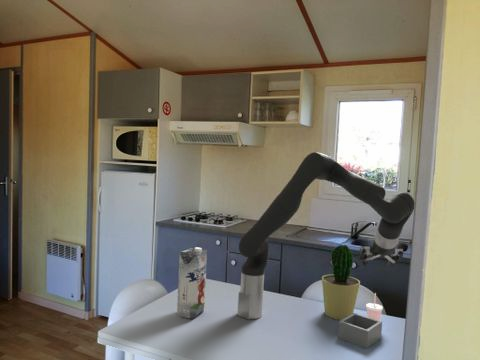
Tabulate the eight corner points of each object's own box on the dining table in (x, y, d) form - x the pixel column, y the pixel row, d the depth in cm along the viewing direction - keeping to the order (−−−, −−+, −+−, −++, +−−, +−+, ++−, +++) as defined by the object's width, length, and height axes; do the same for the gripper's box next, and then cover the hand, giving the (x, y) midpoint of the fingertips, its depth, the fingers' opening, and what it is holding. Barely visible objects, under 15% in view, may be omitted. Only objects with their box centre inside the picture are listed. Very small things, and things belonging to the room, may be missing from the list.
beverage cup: (379, 333, 148) (381, 297, 148) (362, 329, 151) (365, 293, 151) (382, 328, 153) (385, 292, 153) (366, 324, 157) (369, 289, 156)
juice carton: (173, 316, 154) (177, 248, 153) (187, 307, 164) (190, 243, 162) (194, 321, 151) (197, 251, 149) (206, 311, 160) (209, 246, 159)
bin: (366, 348, 136) (368, 331, 135) (337, 337, 143) (339, 321, 143) (381, 337, 145) (382, 321, 144) (353, 328, 152) (354, 312, 152)
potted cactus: (353, 309, 172) (358, 241, 171) (361, 323, 157) (366, 249, 155) (317, 306, 174) (322, 238, 172) (321, 320, 158) (326, 246, 157)
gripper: (406, 231, 134) (395, 257, 145) (363, 228, 135) (355, 254, 147) (410, 249, 128) (398, 275, 140) (365, 247, 130) (357, 272, 142)
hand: (376, 264), depth 143 cm, fingers open, 8 cm apart
